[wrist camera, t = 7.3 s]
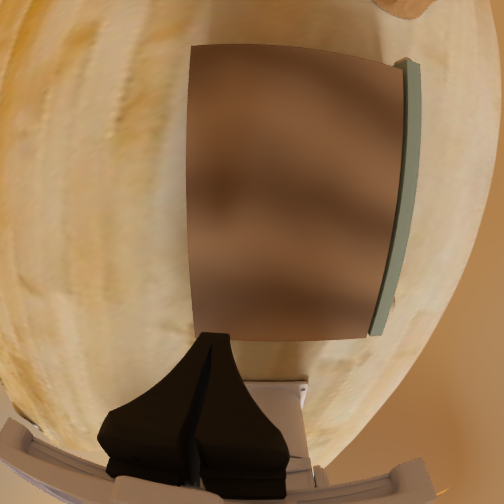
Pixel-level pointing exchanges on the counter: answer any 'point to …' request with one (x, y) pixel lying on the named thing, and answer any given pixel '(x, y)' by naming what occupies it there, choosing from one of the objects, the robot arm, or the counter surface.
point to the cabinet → (289, 189)
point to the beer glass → (405, 7)
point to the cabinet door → (401, 193)
